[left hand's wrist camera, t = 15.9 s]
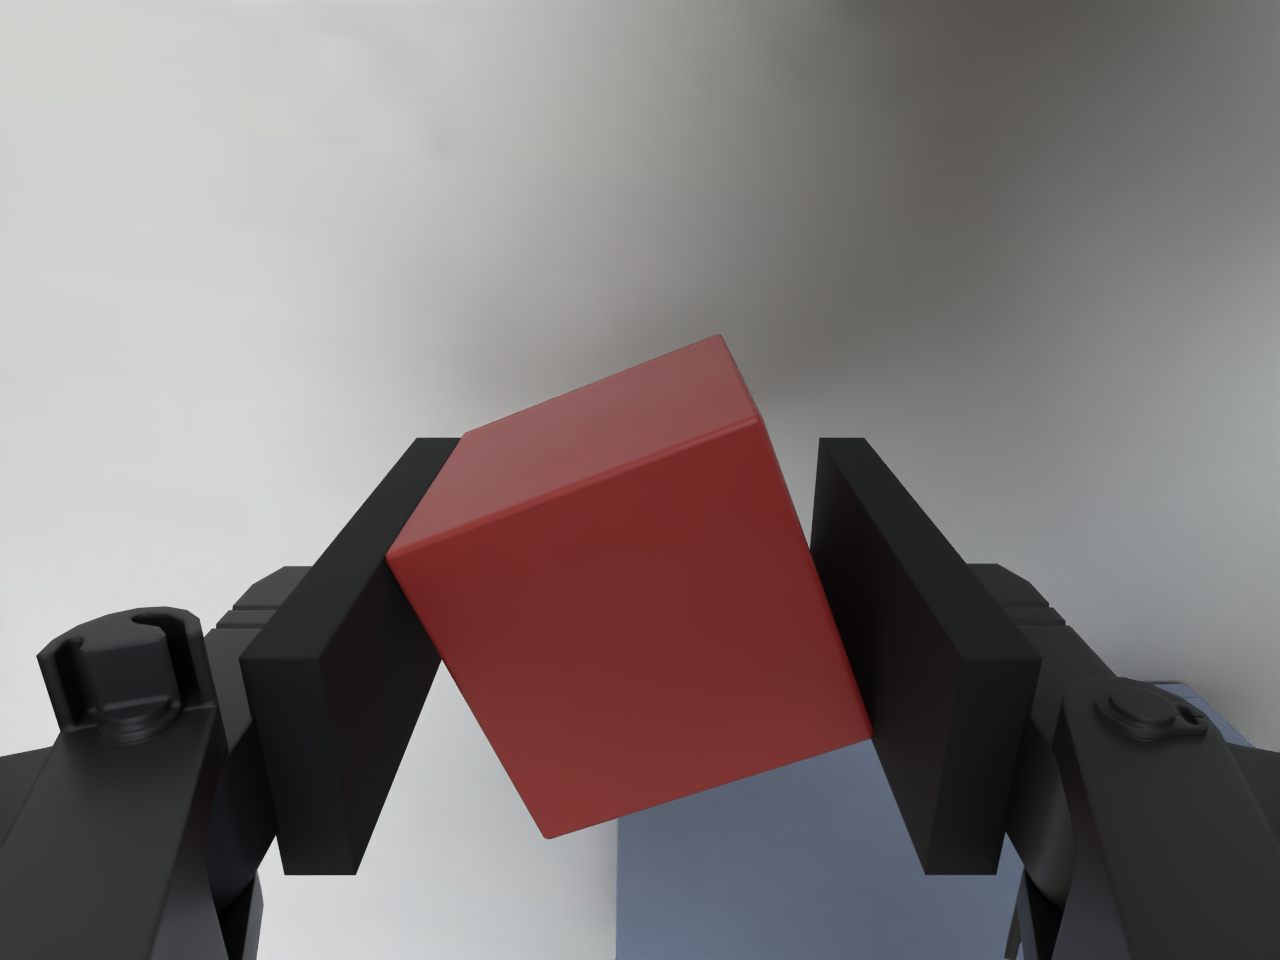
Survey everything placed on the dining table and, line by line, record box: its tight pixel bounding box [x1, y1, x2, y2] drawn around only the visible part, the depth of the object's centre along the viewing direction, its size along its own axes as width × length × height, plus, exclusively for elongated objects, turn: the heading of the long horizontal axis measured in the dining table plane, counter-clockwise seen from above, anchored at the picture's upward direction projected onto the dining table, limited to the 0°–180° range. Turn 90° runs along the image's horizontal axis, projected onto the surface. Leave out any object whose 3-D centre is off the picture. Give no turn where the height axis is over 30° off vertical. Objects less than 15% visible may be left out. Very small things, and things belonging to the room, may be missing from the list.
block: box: [385, 335, 873, 839], centre depth 12 cm, size 5×5×5 cm
